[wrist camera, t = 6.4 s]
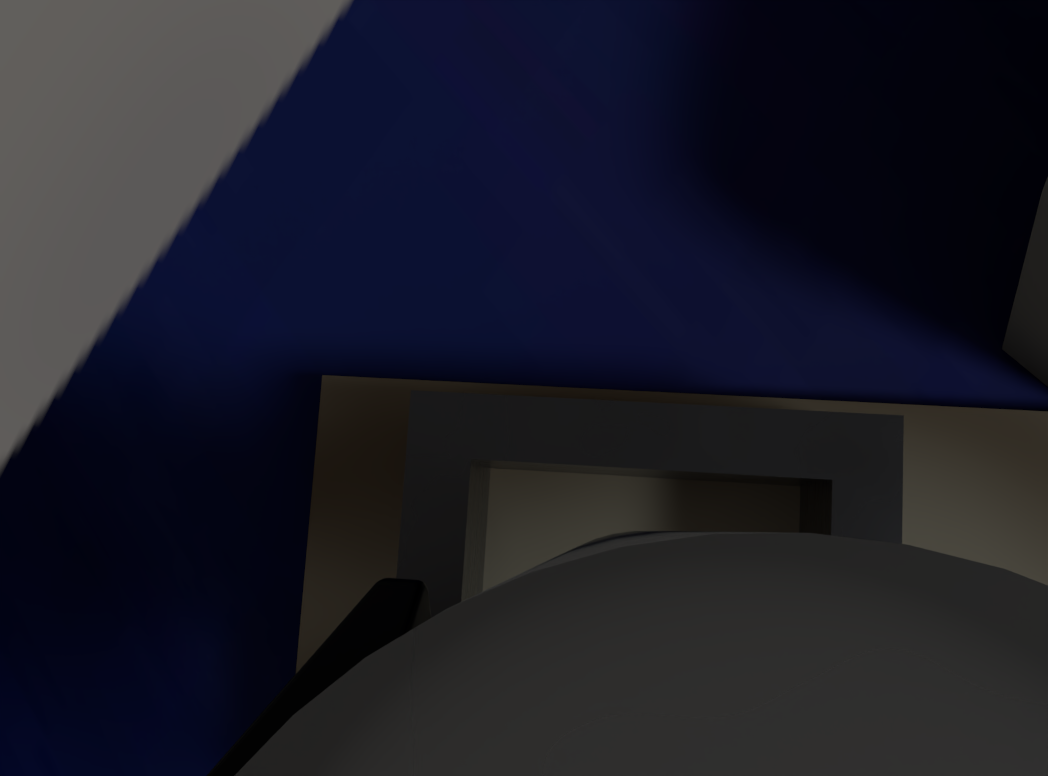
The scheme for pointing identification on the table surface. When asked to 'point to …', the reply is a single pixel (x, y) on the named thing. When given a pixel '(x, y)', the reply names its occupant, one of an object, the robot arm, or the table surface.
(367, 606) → the robot arm
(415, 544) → the knuckle socket
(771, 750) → the pin
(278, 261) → the table surface
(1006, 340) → the grey arched block
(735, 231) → the table surface
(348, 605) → the board
